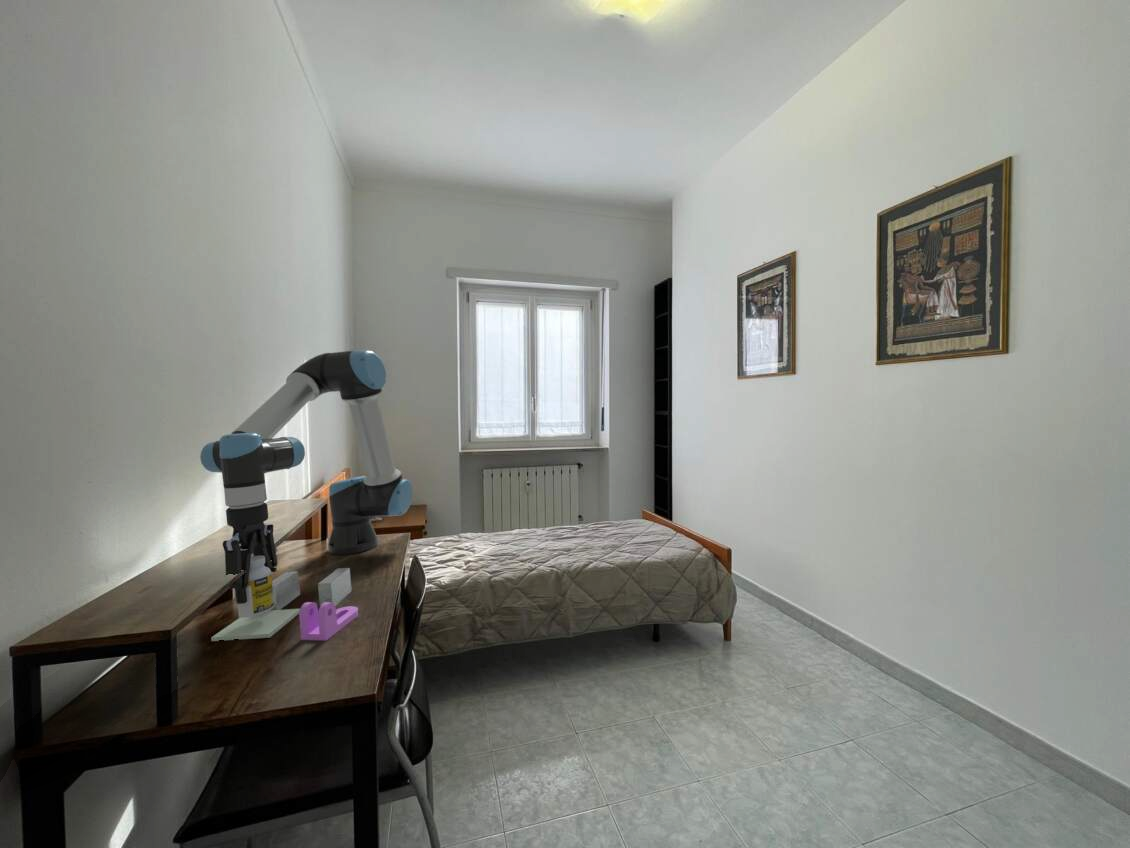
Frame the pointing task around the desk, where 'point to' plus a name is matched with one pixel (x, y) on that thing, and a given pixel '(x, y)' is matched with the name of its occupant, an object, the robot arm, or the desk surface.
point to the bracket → (324, 620)
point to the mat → (257, 625)
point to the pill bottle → (260, 585)
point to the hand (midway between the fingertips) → (256, 609)
